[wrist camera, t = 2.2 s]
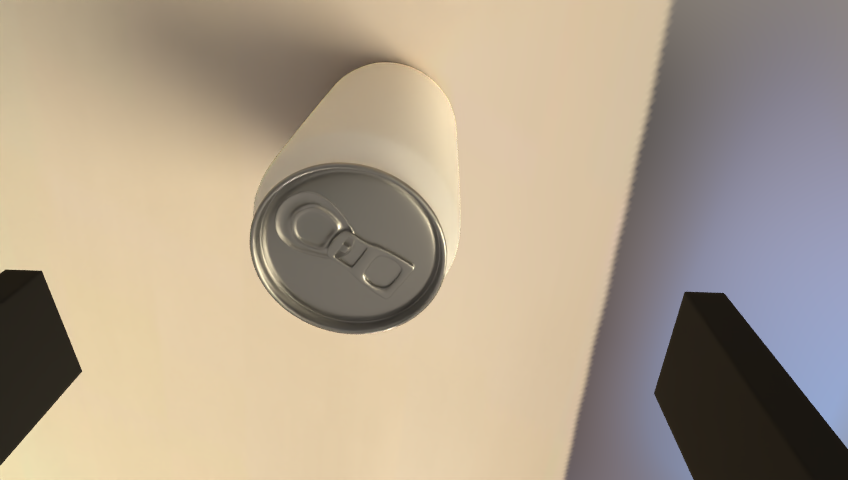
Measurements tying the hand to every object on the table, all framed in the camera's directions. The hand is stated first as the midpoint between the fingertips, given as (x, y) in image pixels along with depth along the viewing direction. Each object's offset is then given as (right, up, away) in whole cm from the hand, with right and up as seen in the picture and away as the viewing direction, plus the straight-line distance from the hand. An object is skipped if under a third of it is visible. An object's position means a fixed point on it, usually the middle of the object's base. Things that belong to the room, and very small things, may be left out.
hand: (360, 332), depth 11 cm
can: (0, +7, +14) cm, 16 cm away
